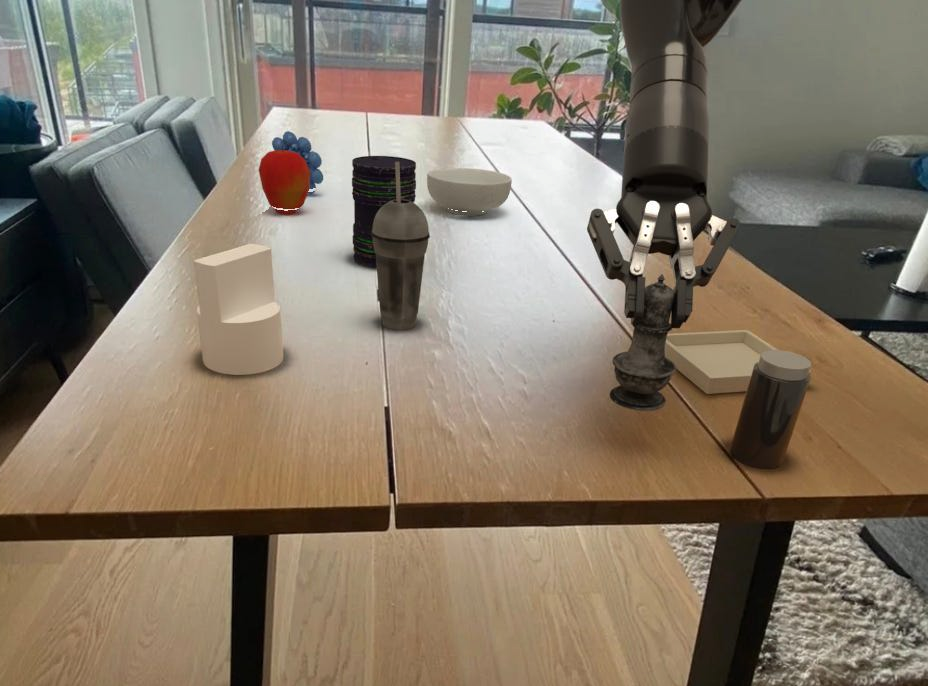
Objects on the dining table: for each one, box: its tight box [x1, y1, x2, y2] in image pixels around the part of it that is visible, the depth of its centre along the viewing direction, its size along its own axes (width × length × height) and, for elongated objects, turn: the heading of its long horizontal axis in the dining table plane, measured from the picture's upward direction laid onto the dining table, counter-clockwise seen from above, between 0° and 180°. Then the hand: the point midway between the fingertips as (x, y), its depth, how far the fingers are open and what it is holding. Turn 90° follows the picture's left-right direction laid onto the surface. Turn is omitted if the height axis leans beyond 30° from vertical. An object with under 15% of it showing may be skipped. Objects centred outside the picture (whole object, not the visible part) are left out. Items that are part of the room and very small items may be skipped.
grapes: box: [271, 130, 324, 195], centre depth 156 cm, size 12×7×12 cm, turn 75°
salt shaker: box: [608, 273, 677, 412], centre depth 70 cm, size 6×6×12 cm
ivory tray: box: [665, 329, 812, 395], centre depth 93 cm, size 13×13×2 cm
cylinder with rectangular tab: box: [193, 243, 284, 376], centre depth 85 cm, size 9×9×12 cm
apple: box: [258, 146, 310, 216], centre depth 144 cm, size 9×9×12 cm
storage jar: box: [351, 155, 417, 270], centre depth 120 cm, size 10×10×15 cm
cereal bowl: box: [426, 167, 513, 217], centre depth 153 cm, size 17×17×7 cm
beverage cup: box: [371, 162, 431, 331], centre depth 95 cm, size 7×7×20 cm
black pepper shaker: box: [729, 349, 812, 469], centre depth 72 cm, size 5×5×10 cm
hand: (657, 322), depth 67 cm, fingers closed on salt shaker, 3 cm apart
